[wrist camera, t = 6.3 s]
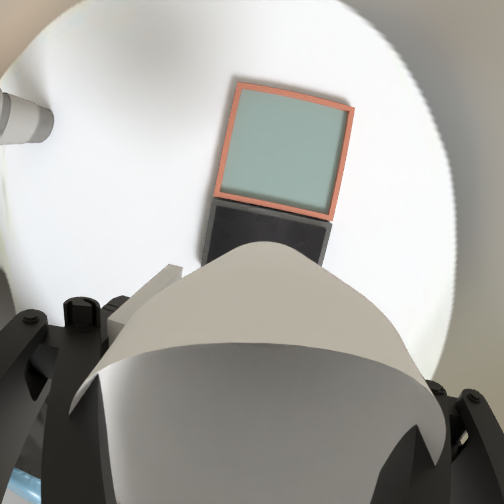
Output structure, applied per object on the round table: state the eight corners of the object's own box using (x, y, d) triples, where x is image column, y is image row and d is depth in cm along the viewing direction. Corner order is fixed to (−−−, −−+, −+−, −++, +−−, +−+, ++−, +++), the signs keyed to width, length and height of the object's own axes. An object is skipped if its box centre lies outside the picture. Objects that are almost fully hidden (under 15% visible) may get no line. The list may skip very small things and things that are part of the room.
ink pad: (202, 267, 31) (199, 272, 30) (214, 198, 30) (211, 199, 28) (312, 290, 31) (314, 296, 30) (329, 222, 30) (333, 224, 28)
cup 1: (48, 91, 27) (-13, 73, 15) (67, 120, 28) (0, 106, 16) (20, 131, 28) (-42, 126, 17) (37, 161, 29) (-30, 162, 18)
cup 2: (232, 186, 15) (120, 200, 3) (372, 271, 16) (508, 411, 4) (161, 320, 17) (56, 473, 5) (287, 385, 18) (297, 556, 6)
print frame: (215, 195, 30) (213, 196, 29) (238, 85, 27) (237, 81, 26) (330, 220, 29) (332, 221, 28) (352, 110, 27) (354, 107, 26)
